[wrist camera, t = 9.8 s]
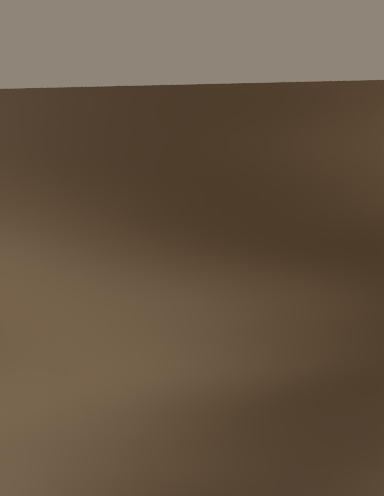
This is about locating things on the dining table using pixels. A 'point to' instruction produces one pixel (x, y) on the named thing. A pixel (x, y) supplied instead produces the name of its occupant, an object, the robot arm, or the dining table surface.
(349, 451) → the walnut plank
